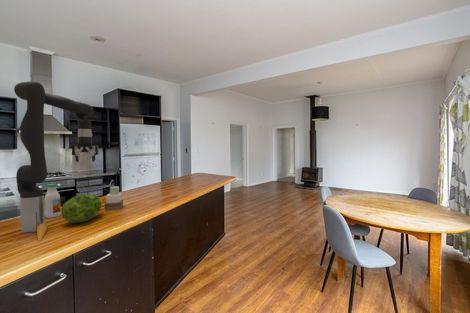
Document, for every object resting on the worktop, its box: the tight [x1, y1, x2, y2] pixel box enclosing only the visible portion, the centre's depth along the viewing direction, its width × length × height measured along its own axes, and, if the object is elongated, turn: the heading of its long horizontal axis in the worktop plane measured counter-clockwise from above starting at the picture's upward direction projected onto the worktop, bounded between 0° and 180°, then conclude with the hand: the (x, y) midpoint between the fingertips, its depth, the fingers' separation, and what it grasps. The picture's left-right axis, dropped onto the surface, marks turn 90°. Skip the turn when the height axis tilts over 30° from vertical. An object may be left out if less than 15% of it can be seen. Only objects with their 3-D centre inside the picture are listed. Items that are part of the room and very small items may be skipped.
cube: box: [109, 186, 120, 195], centre depth 164 cm, size 5×5×5 cm
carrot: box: [36, 222, 49, 243], centre depth 113 cm, size 20×4×4 cm, turn 36°
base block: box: [104, 199, 124, 211], centre depth 164 cm, size 10×10×5 cm
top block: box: [105, 192, 122, 203], centre depth 165 cm, size 8×8×5 cm
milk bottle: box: [44, 183, 62, 219], centre depth 145 cm, size 8×8×20 cm
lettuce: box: [61, 193, 103, 224], centre depth 138 cm, size 15×27×16 cm, turn 0°
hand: (85, 161), depth 151 cm, fingers open, 8 cm apart
